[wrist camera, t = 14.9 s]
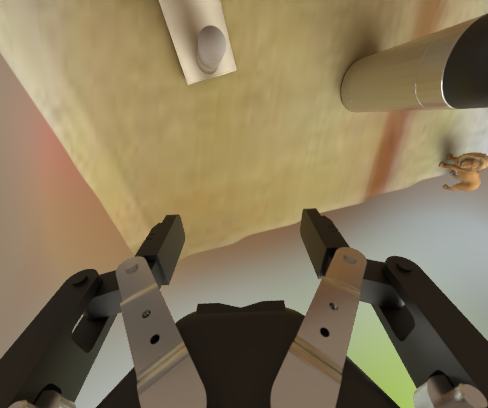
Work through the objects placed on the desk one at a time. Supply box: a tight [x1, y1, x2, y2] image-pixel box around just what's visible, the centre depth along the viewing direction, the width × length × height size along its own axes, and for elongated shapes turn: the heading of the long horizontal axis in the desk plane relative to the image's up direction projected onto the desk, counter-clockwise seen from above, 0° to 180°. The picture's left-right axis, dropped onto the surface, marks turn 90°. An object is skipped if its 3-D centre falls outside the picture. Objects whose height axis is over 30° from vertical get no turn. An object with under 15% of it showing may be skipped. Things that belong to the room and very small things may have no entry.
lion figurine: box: [439, 153, 488, 191], centre depth 48 cm, size 15×5×9 cm, turn 45°
